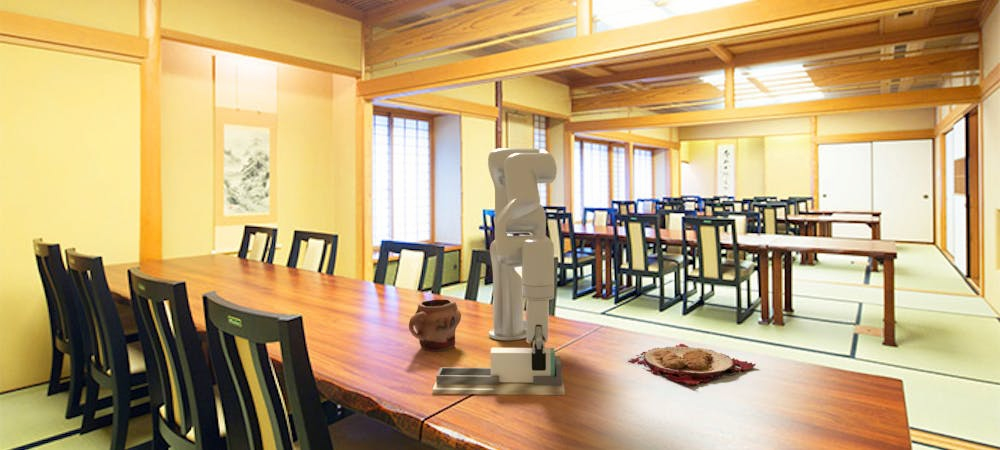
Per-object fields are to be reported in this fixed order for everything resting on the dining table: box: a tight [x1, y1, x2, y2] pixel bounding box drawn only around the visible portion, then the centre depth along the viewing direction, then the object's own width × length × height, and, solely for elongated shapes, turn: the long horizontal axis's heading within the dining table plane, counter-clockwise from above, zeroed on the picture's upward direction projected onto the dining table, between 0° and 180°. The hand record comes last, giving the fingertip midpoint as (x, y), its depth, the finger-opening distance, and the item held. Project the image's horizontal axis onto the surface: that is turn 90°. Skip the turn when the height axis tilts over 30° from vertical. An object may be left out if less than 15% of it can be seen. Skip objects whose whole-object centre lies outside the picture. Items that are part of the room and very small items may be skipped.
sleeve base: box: [432, 366, 566, 396], centre depth 121 cm, size 30×12×3 cm, turn 87°
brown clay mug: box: [408, 298, 462, 352], centre depth 149 cm, size 20×12×14 cm, turn 150°
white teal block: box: [489, 347, 556, 383], centre depth 120 cm, size 15×4×7 cm, turn 87°
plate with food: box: [627, 343, 757, 386], centre depth 134 cm, size 24×26×4 cm
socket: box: [533, 355, 563, 386], centre depth 120 cm, size 6×6×5 cm
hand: (538, 363), depth 120 cm, fingers open, 9 cm apart
